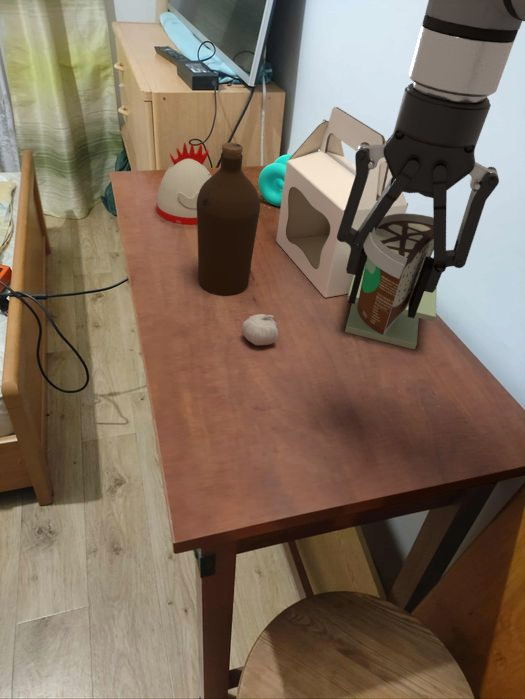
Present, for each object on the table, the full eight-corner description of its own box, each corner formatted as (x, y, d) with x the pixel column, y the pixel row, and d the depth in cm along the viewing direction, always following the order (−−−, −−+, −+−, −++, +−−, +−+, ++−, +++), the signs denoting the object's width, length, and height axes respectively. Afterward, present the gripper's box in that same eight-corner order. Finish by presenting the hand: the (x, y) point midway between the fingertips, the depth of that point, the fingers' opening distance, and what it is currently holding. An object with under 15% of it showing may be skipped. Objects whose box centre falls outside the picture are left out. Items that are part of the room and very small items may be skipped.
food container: (373, 274, 65) (395, 200, 59) (418, 293, 63) (446, 219, 56) (327, 317, 57) (347, 237, 50) (377, 341, 55) (405, 260, 48)
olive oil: (241, 303, 90) (254, 164, 74) (185, 288, 92) (187, 149, 76) (258, 274, 98) (274, 142, 82) (207, 261, 100) (213, 129, 84)
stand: (423, 309, 95) (437, 272, 90) (420, 355, 85) (435, 316, 80) (349, 291, 97) (359, 254, 92) (338, 333, 87) (348, 295, 82)
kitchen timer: (223, 224, 112) (227, 156, 102) (159, 225, 109) (157, 155, 99) (213, 196, 122) (215, 132, 113) (154, 196, 119) (152, 130, 109)
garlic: (280, 334, 85) (284, 309, 81) (273, 355, 81) (277, 329, 77) (246, 326, 86) (248, 301, 82) (237, 346, 81) (239, 320, 78)
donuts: (307, 198, 127) (314, 158, 121) (292, 213, 120) (298, 171, 114) (271, 187, 130) (276, 148, 123) (254, 201, 123) (258, 160, 116)
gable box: (383, 289, 99) (429, 142, 81) (325, 299, 94) (359, 146, 76) (328, 234, 114) (356, 100, 96) (274, 240, 109) (294, 100, 91)
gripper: (556, 99, 46) (463, 306, 61) (347, 62, 49) (308, 269, 64) (572, 121, 40) (466, 343, 55) (335, 79, 43) (295, 302, 58)
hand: (381, 303), depth 59 cm, fingers closed on food container, 6 cm apart
